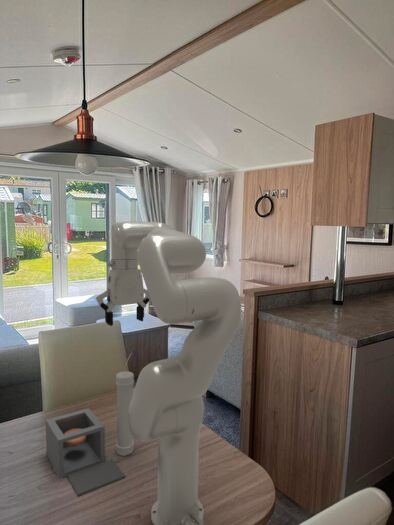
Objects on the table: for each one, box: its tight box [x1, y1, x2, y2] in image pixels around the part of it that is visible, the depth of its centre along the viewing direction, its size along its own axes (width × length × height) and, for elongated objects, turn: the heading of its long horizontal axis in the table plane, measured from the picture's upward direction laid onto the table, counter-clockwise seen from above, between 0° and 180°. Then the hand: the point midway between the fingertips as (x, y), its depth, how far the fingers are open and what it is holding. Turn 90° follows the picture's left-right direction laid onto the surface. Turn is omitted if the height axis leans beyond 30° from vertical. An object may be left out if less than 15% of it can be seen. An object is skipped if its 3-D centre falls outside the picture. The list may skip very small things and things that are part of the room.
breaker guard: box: [45, 407, 106, 480], centre depth 112 cm, size 13×13×11 cm
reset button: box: [64, 428, 86, 446], centre depth 112 cm, size 6×6×3 cm
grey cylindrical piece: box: [115, 352, 135, 456], centre depth 116 cm, size 6×6×30 cm
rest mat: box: [66, 458, 126, 497], centre depth 105 cm, size 9×13×1 cm
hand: (125, 322), depth 113 cm, fingers open, 9 cm apart
